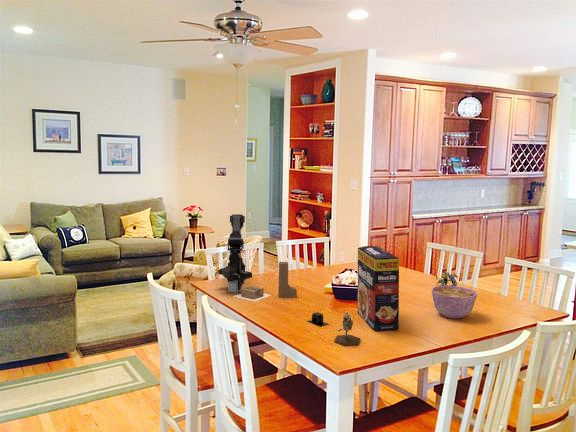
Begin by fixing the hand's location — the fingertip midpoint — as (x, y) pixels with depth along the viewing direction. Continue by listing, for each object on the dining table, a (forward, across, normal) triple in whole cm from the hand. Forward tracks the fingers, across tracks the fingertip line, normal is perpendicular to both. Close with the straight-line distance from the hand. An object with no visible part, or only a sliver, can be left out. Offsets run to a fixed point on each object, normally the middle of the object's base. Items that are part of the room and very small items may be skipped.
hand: (235, 289), depth 263 cm
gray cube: (+1, 0, 0) cm, 1 cm away
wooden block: (+1, +28, +8) cm, 29 cm away
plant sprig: (+2, +88, +78) cm, 118 cm away
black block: (+2, +60, -16) cm, 62 cm away
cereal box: (+2, +80, +1) cm, 80 cm away
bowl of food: (+1, +105, +30) cm, 109 cm away
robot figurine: (+2, +81, -28) cm, 86 cm away
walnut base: (+1, +14, -3) cm, 14 cm away
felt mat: (+1, +13, -2) cm, 13 cm away
